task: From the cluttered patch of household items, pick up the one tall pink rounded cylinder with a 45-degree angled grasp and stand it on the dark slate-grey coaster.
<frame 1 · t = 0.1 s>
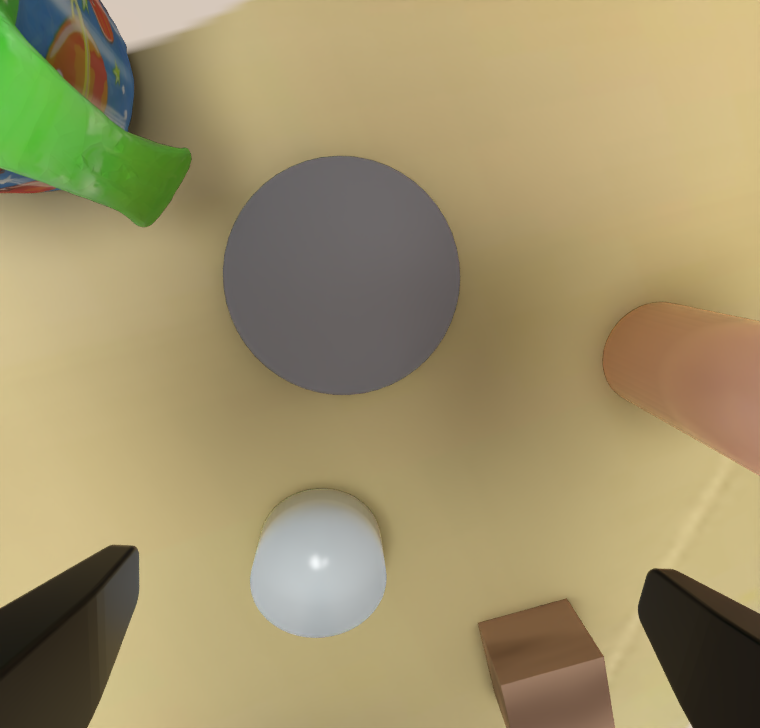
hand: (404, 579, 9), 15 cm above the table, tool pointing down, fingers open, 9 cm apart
coaster: (343, 281, 22), on the table
snack cup: (43, 91, 19), on the table
walnut block: (528, 645, 28), on the table
white dome: (320, 541, 25), on the table
pink rounded cylinder: (653, 354, 24), on the table
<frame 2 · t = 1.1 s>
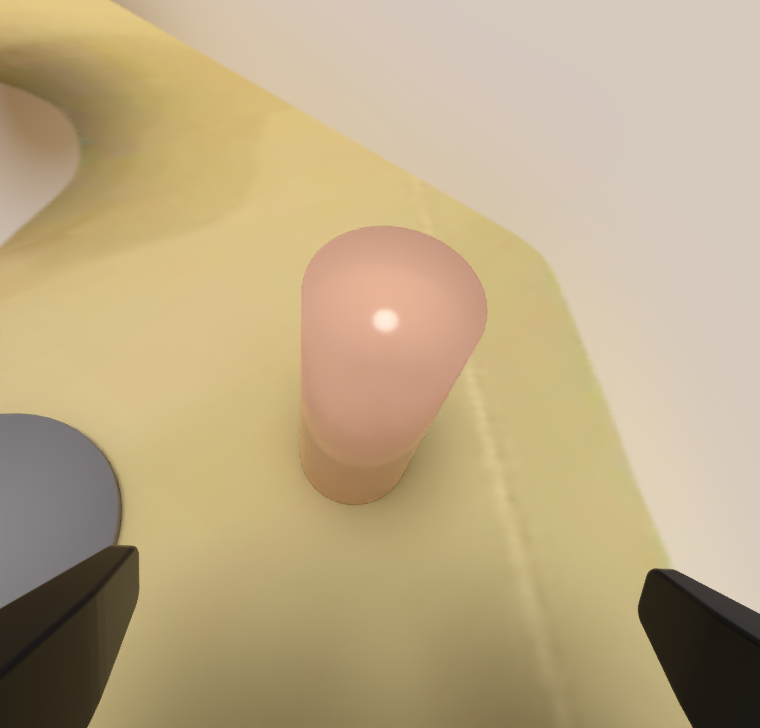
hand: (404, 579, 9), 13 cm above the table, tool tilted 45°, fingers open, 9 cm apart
pink rounded cylinder: (353, 451, 24), on the table
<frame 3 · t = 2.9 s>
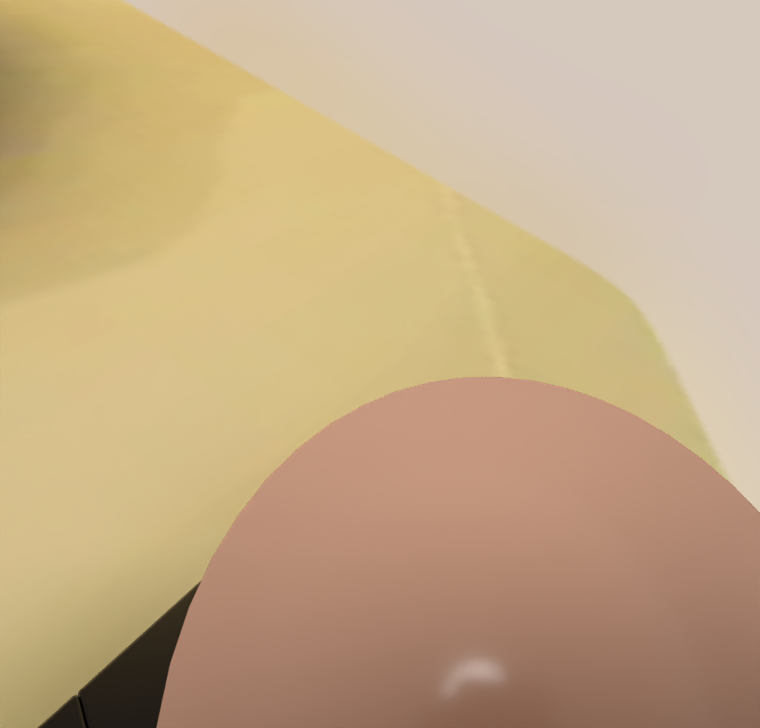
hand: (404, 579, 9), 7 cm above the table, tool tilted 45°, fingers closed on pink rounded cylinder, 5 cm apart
pink rounded cylinder: (361, 665, 14), on the table, touching gripper
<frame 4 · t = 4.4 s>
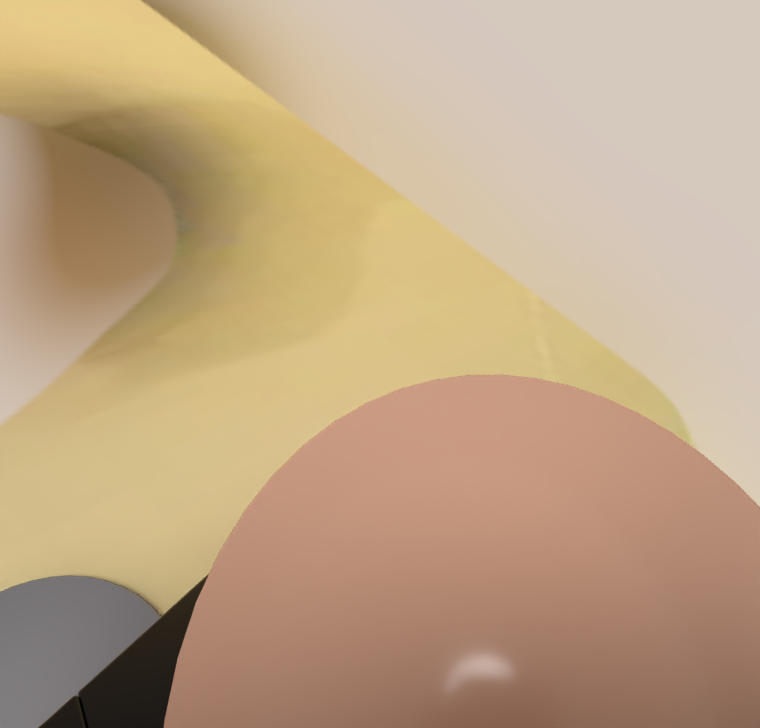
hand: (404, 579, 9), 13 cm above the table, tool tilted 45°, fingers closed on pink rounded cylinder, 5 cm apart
pink rounded cylinder: (363, 664, 14), point 7 cm above the table, touching gripper
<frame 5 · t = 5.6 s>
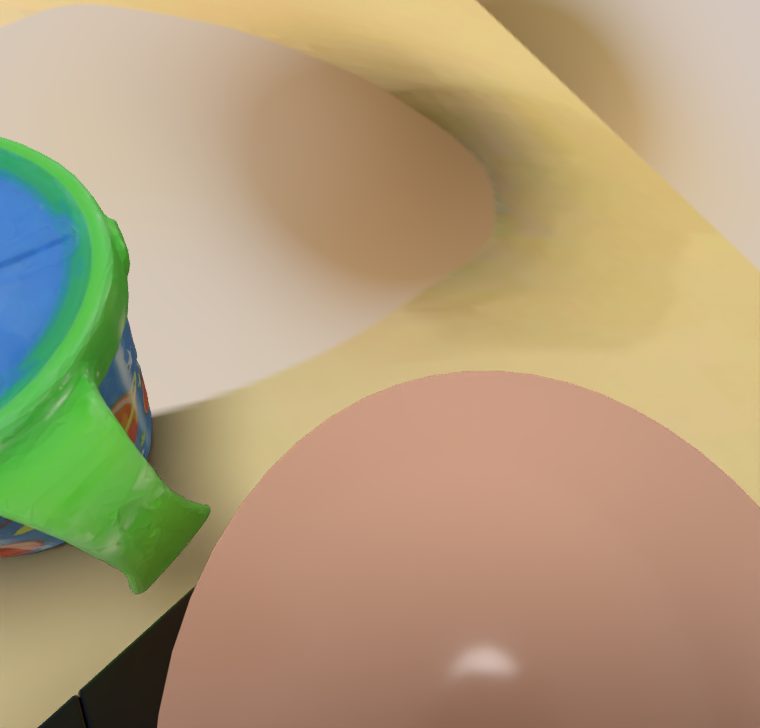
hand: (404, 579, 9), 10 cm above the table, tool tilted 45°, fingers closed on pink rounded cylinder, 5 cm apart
snack cup: (51, 454, 19), on the table
pink rounded cylinder: (361, 662, 14), point 4 cm above the table, touching gripper
when the fingers open (9 cm above the table, at t = 6.2 s): pink rounded cylinder drops 1 cm, resting on coaster.
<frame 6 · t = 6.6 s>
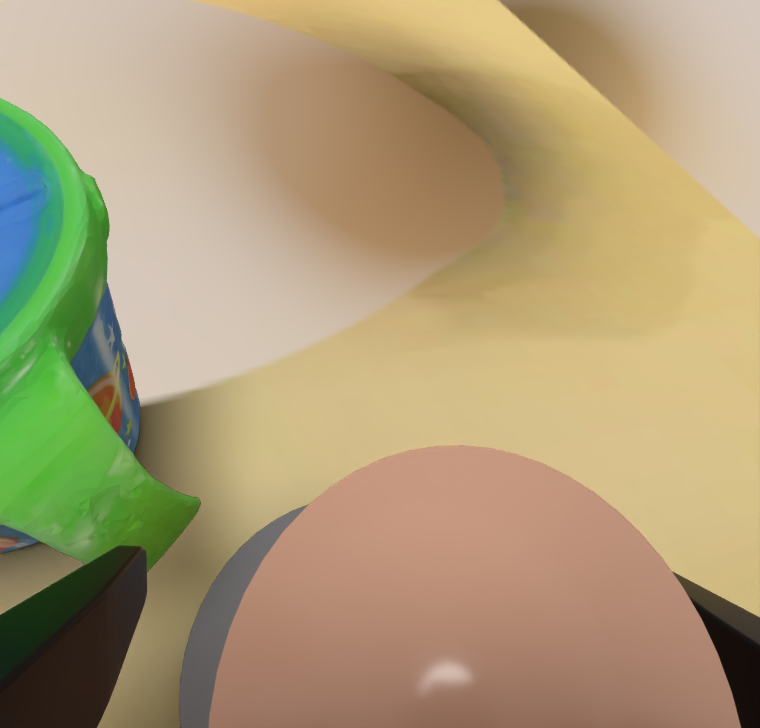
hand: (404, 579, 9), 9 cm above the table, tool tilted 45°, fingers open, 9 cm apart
coaster: (353, 663, 15), on the table
snack cup: (32, 445, 18), on the table
pink rounded cylinder: (353, 666, 15), point 1 cm above the table, touching coaster
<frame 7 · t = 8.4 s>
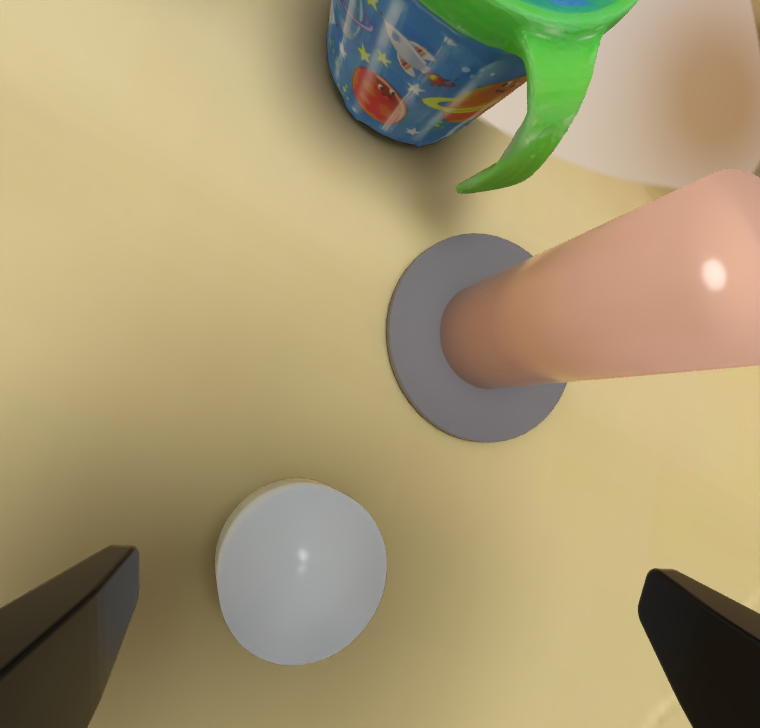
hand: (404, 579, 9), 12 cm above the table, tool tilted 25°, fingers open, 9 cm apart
coaster: (481, 337, 24), on the table
snack cup: (396, 78, 24), on the table
white dome: (291, 552, 20), on the table
pink rounded cylinder: (486, 336, 24), point 1 cm above the table, touching coaster
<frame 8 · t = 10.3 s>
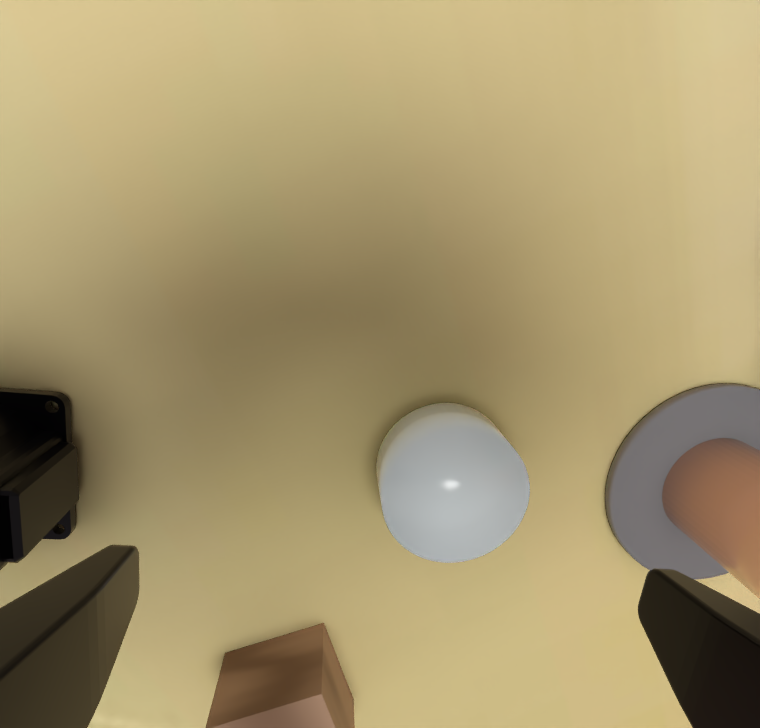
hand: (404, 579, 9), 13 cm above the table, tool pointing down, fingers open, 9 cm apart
coaster: (705, 482, 24), on the table
walnut block: (291, 674, 25), on the table
white dome: (441, 463, 23), on the table
pink rounded cylinder: (713, 487, 23), point 1 cm above the table, touching coaster
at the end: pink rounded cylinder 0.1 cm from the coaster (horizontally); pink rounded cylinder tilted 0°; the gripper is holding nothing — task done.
